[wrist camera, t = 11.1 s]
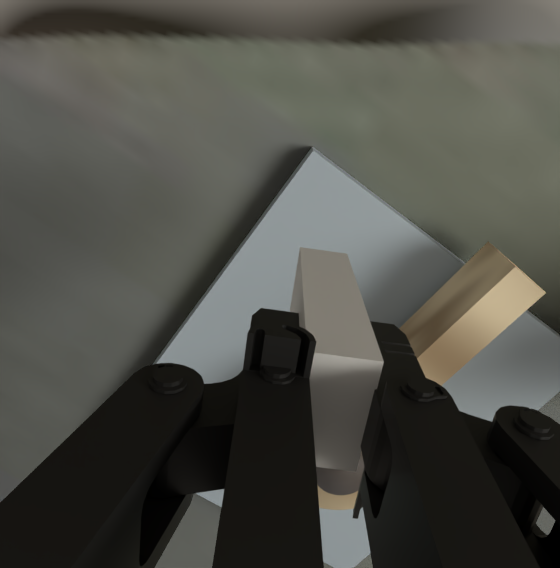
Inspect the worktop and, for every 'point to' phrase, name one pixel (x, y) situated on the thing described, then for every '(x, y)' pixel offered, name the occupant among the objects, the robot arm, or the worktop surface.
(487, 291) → the peg knob
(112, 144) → the worktop surface
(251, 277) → the board
